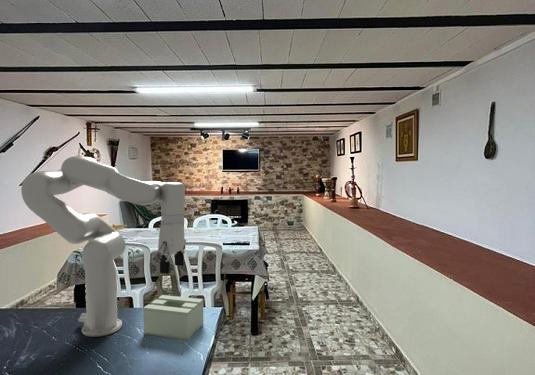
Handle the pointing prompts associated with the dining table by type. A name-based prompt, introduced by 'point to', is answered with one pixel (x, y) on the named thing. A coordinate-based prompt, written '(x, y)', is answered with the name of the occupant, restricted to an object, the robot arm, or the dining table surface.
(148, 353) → the dining table surface
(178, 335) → the box
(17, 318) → the dining table surface
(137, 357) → the dining table surface
